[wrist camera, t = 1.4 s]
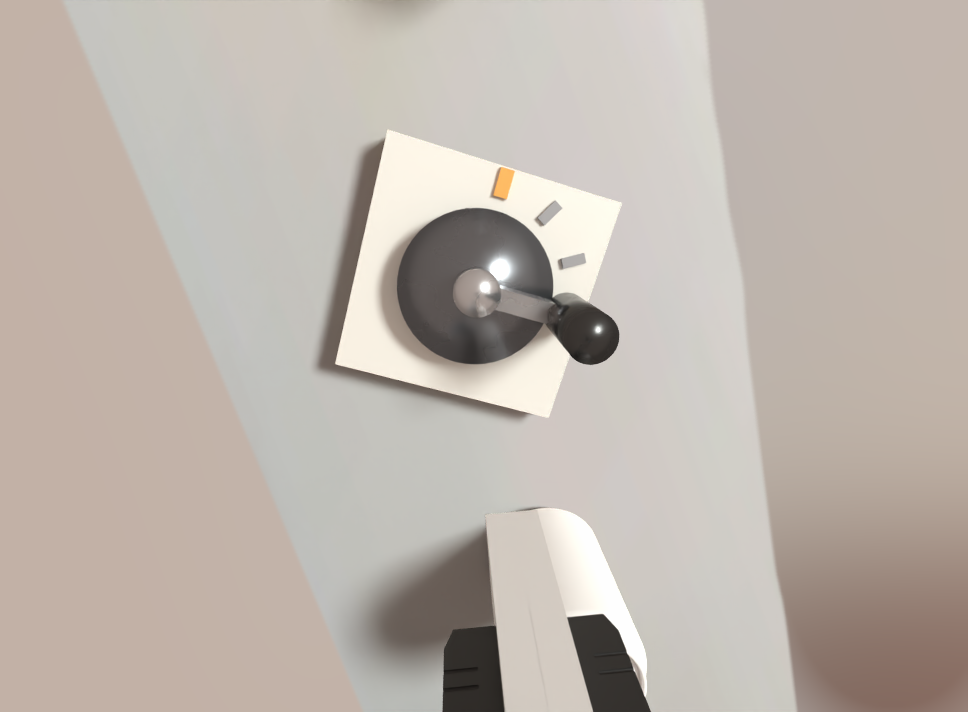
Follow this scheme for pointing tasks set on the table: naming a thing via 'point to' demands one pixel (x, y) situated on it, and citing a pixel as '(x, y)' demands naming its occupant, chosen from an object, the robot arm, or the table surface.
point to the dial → (492, 292)
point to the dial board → (430, 194)
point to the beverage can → (588, 579)
